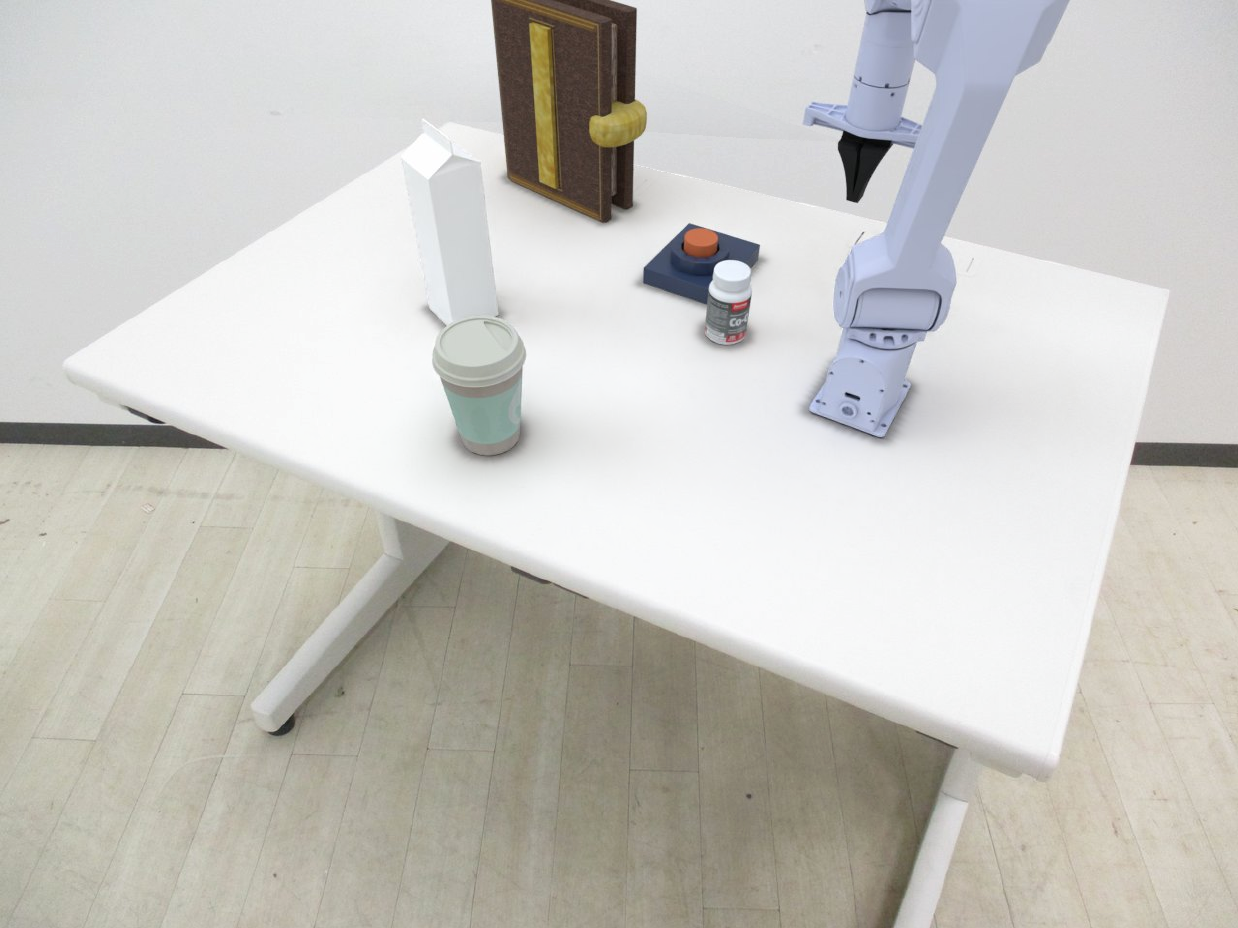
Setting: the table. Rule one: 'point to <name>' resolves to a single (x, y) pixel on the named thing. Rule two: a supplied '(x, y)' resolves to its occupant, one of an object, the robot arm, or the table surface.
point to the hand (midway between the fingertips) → (854, 198)
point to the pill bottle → (728, 302)
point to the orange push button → (700, 243)
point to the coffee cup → (482, 380)
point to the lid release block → (695, 264)
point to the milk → (450, 226)
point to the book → (570, 100)
